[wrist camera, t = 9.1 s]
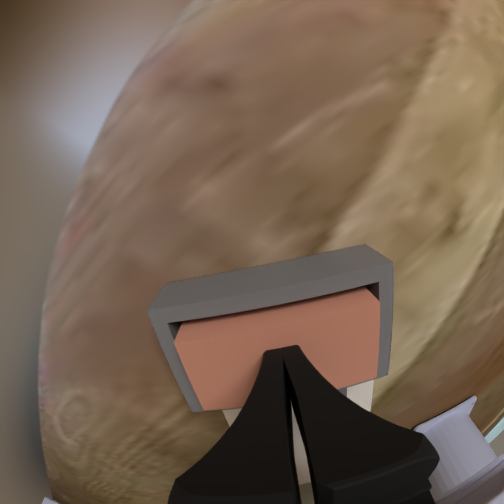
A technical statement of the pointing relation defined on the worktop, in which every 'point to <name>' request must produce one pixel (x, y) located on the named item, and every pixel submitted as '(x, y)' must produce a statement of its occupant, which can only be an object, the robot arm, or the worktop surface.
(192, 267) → the worktop surface
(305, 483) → the marker
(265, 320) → the button
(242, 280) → the button housing
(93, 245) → the worktop surface
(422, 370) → the worktop surface
